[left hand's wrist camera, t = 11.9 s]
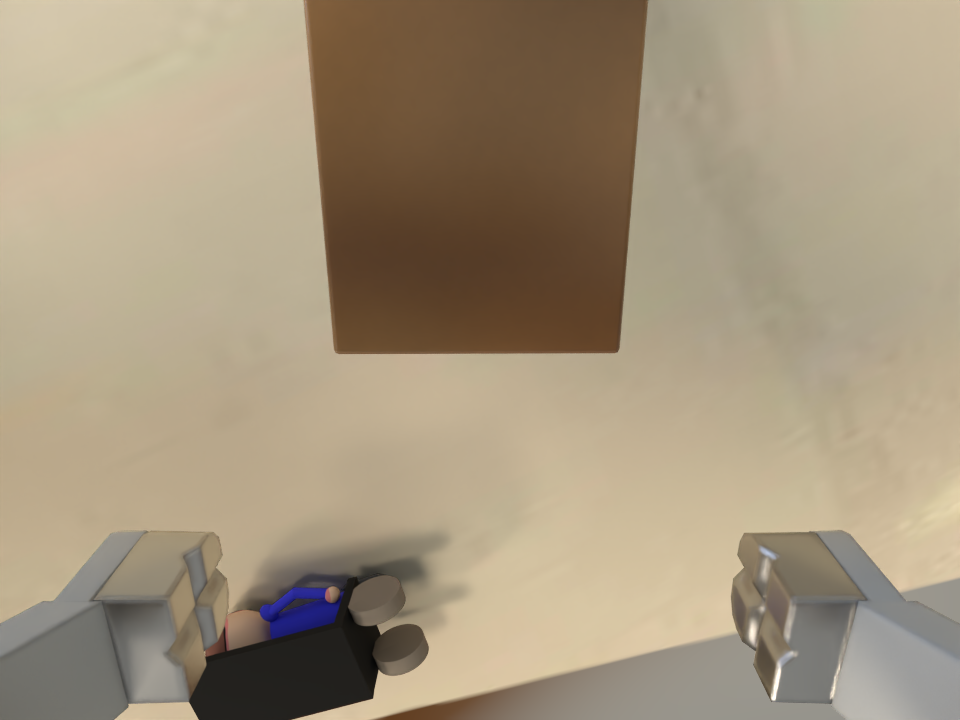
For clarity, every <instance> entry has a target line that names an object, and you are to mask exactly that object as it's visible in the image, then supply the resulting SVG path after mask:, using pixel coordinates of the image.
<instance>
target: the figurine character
mask: <svg viewBox="0 0 960 720" xmlns="http://www.w3.org/2000/svg"><path fill="white" fill-rule="evenodd" d="M341 590H344V592H341V593H340V591H339V589H338V588H337V587H334V586H332V587H329V588H296V587H294V588H293V589H291V590H290V591H289V592H288V593H286V594H285V595H284V596H283V597H281V598H280V599H279V600H278V601H276V602H275V603H274V604H273V605H270V604H266V605H263V606H262V607H261V609H260V612H257V611H253V610H240V611H236V612H233V613H231V614H229V615H227V617H226V622H225V626H224V629H223V631H222V633H221V635H220V638H219V640H218V642H216V643H215V644H214V645H212V646H211V647H209V648H208V649H207V650H205V656H206V657H205V659H206V664H207V665H206V667H205V669H204V671H203V673H202V675H201V678H200V680H199V682H198V684H197V686H196V688H195V690H194V692H193V694H192V696H191V698H190V700H189V703H190V704H191V706H192V708H193V710H194V712H195V713H196V715H197V717H198V719H199V720H292V719H296V718H300V717H304V716H308V715H312V714H315V713H319V712H323V711H327V710H331V709H335V708H339V707H342V706H346V705H350V704H354V703H358V702H362V701H366V700H370V699H373V695H374V688H375V684H376V679H377V674H378V670H380V671H381V672H382V673H383V674H385V675H390V676H396V675H401V674H405V673H407V672H410V671H411V670H413V669H415V668H416V667H418V666H419V665H420V664H421V663H422V662H423V661H424V659H425V658H426V656H427V654H428V651H429V647H428V644H427V641H426V638H425V636H424V633H423V631H422V629H421V628H420V627H418V626H416V625H413V624H404V625H399V626H396V627H394V628H391V629H389V630H388V631H386V632H385V633H383V634H382V635H380V632H379V630H378V627H377V624H380V623H383V622H385V621H387V620H389V619H391V618H392V617H394V616H395V615H396V614H397V613H398V612H399V611H400V610H401V609H402V607H403V606H404V604H405V595H404V592H403V590H402V587H401V585H400V582H399V580H398V579H397V578H396V577H393V576H388V575H384V574H378V573H377V574H374V575H371V576H368V577H365V578H362V579H359V580H358V579H357V577H353V578H349V579H348V581H347V584H346V585H345V586H344V587H343V588H342V589H341ZM296 598H300V599H320V600H317V601H314V602H311V603H308V604H305V605H302V606H299V607H295V608H292V609H289V610H286V611H283V612H280V611H281V610H282V609H284V608H285V607H286V606H287V605H289V604H290V603H291V602H292V601H294V600H295V599H296ZM279 612H280V613H279Z"/></svg>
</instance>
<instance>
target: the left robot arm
mask: <svg viewBox="0 0 960 720" xmlns="http://www.w3.org/2000/svg"><path fill="white" fill-rule="evenodd" d="M222 555H223V554H222V549H221V545H220V540H219V537H218V536H217V535H216V534H215V533H214V532H184V531H150V532H149V531H117V532H114V533H111V534H110V535H109V536H108V537H107V538H106V539H105V541H104V542H103V543H102V544H101V545H100V547H99V548H98V549H97V550H96V551H95V552H94V554H93V555H92V556H91V557H90V558H89V560H88V561H87V562H86V563H85V564H84V566H83V567H82V568H81V569H80V570H79V571H78V573H77V574H76V575H75V576H74V577H73V579H72V580H71V581H70V582H69V583H68V584H67V586H66V587H65V588H64V589H63V590H62V592H61V593H60V594H59V595H58V596H57V598H56V599H55V600H54V601H42V602H41V603H39V604H37V605H35V606H33V607H31V608H29V609H27V610H25V611H23V612H22V613H20V614H18V615H16V616H14V617H12V618H10V619H8V620H6V621H4V622H2V623H1V624H0V720H114V719H115V718H116V717H118V716H119V715H120V714H121V713H122V712H123V711H124V710H126V709H127V708H128V704H136V703H170V702H189V700H190V698H191V696H192V694H193V692H194V690H195V688H196V686H197V684H198V682H199V680H200V678H201V675H202V673H203V671H204V669H205V667H206V665H207V664H206V659H205V653H204V651H205V650H207V649H208V648H209V647H211V646H212V645H214V644H215V643H216V642H218V640H219V638H220V635H221V633H222V631H223V629H224V626H225V622H226V617H227V612H228V608H229V590H228V584H227V578H226V577H225V576H224V575H223V574H222V573H221V572H220V571H219V570H218V569H217V568H216V566H217V564H218V563H219V561H220V559H221V557H222ZM737 555H738V557H739V559H740V561H741V563H742V564H743V566H744V568H743V569H742V570H741V571H740V572H739V573H738V574H737V575H736V576H735V577H734V578H733V585H732V593H731V603H732V615H733V618H734V622H735V626H736V629H737V631H738V633H739V635H740V638H741V640H742V642H744V643H745V644H746V645H748V646H749V647H751V648H752V649H753V650H755V651H756V654H755V659H754V664H753V665H754V667H755V669H756V671H757V673H758V675H759V677H760V679H761V682H762V684H763V686H764V688H765V690H766V692H767V694H768V696H769V698H770V700H771V702H788V703H825V704H832V706H831V707H832V708H834V709H835V710H836V711H837V712H838V713H839V714H840V715H842V716H843V717H844V718H845V719H846V720H960V624H959V623H957V622H955V621H954V620H952V619H950V618H948V617H946V616H944V615H942V614H940V613H938V612H937V611H935V610H933V609H931V608H929V607H927V606H925V605H923V604H921V603H919V602H917V601H906V600H905V599H904V598H903V596H902V595H901V594H900V593H899V592H898V590H897V589H896V588H895V587H894V586H893V585H892V583H891V582H890V581H889V580H888V579H887V577H886V576H885V575H884V574H883V573H882V572H881V570H880V569H879V568H878V567H877V566H876V564H875V563H874V562H873V561H872V560H871V558H870V557H869V556H868V555H867V554H866V553H865V551H864V550H863V549H862V548H861V547H860V545H859V544H858V543H857V542H856V541H855V540H854V538H853V537H852V536H851V535H850V534H849V533H847V532H845V531H843V530H835V531H809V532H780V533H744V534H743V536H742V538H741V540H740V543H739V549H738V554H737Z"/></svg>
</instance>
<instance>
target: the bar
mask: <svg viewBox="0 0 960 720" xmlns="http://www.w3.org/2000/svg"><path fill="white" fill-rule="evenodd" d="M647 8H648V0H304V10H305V21H306V33H307V44H308V56H309V67H310V79H311V90H312V102H313V113H314V125H315V136H316V148H317V159H318V171H319V182H320V194H321V205H322V217H323V228H324V240H325V251H326V263H327V274H328V286H329V297H330V309H331V320H332V332H333V343H334V350H335V352H336V353H338V354H476V353H616V352H618V350H619V348H620V337H621V325H622V312H623V300H624V288H625V276H626V264H627V252H628V239H629V227H630V215H631V203H632V191H633V179H634V166H635V154H636V142H637V130H638V118H639V105H640V93H641V81H642V69H643V57H644V45H645V32H646V20H647Z"/></svg>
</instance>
